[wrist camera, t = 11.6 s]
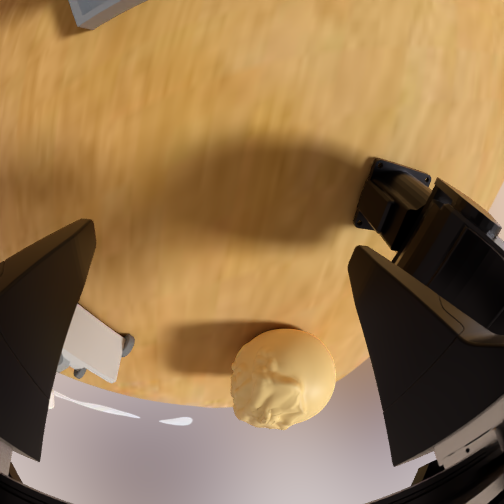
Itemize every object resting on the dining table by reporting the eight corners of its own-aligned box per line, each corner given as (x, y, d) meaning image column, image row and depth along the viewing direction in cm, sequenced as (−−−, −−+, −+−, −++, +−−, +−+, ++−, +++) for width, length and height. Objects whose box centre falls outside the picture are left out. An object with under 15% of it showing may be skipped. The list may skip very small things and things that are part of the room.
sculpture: (241, 309, 30) (249, 403, 21) (339, 319, 32) (367, 398, 24) (220, 365, 36) (222, 440, 27) (302, 370, 39) (316, 437, 30)
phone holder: (60, 420, 29) (-6, 379, 23) (74, 368, 37) (17, 327, 31) (122, 405, 24) (25, 345, 18) (136, 333, 32) (61, 273, 26)
